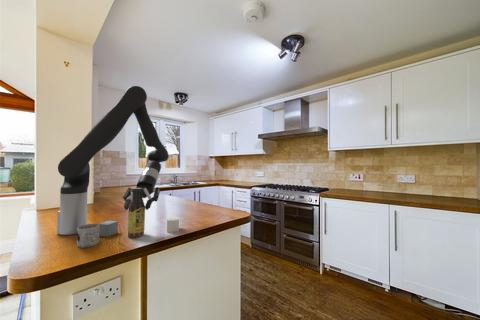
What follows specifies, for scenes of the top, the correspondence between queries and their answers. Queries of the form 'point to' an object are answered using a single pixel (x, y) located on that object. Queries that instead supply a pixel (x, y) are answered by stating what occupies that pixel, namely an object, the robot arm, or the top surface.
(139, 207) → the sauce bottle
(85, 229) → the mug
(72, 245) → the top surface
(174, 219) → the off-white block
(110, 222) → the slate block
